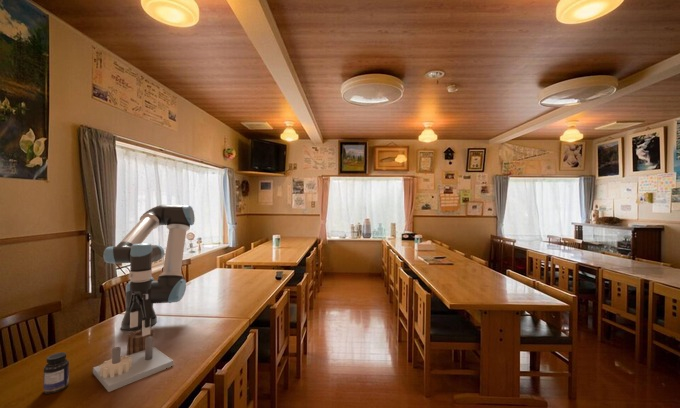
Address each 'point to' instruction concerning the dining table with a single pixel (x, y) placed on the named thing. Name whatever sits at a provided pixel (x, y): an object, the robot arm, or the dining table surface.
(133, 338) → the walnut gear
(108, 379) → the gear board
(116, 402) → the dining table surface
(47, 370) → the pill bottle
